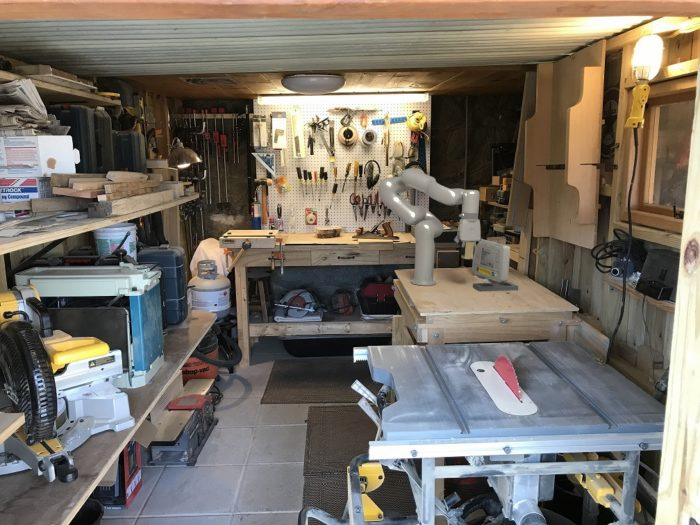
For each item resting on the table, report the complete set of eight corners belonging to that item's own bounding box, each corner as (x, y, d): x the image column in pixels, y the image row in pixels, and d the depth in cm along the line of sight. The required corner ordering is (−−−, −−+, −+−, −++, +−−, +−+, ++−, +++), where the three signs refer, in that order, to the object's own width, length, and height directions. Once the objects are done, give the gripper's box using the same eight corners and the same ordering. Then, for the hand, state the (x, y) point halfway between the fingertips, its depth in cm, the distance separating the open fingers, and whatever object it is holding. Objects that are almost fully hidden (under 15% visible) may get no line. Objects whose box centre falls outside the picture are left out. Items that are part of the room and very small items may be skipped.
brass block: (461, 257, 261) (462, 240, 259) (469, 257, 262) (470, 240, 260) (464, 259, 257) (465, 242, 255) (472, 258, 258) (473, 242, 256)
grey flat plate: (472, 287, 268) (472, 283, 267) (509, 286, 272) (510, 282, 272) (479, 291, 260) (480, 287, 260) (517, 290, 264) (518, 286, 264)
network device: (510, 285, 273) (514, 246, 269) (496, 286, 270) (499, 246, 266) (480, 274, 297) (483, 238, 293) (467, 275, 293) (469, 238, 289)
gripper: (456, 217, 250) (453, 256, 254) (489, 217, 254) (487, 256, 257) (449, 215, 257) (447, 253, 261) (482, 215, 261) (479, 253, 265)
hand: (467, 254), depth 259 cm, fingers closed on brass block, 4 cm apart
